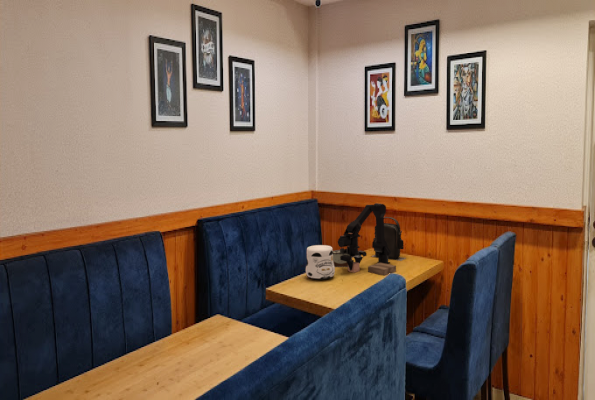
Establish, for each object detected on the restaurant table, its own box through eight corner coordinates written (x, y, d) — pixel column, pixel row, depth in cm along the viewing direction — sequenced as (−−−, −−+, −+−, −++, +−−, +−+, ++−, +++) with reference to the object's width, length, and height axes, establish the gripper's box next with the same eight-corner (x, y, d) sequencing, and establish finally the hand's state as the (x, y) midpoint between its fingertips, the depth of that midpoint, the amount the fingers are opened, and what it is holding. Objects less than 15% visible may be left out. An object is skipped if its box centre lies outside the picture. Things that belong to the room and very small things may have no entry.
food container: (350, 264, 304) (350, 249, 302) (351, 267, 298) (350, 251, 296) (331, 264, 305) (331, 249, 304) (331, 267, 299) (331, 252, 298)
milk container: (326, 283, 265) (325, 252, 263) (300, 279, 275) (299, 249, 273) (340, 275, 280) (339, 246, 278) (315, 272, 289) (314, 243, 287)
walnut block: (380, 268, 293) (380, 262, 293) (395, 272, 284) (395, 265, 284) (368, 272, 285) (367, 266, 285) (383, 276, 276) (383, 269, 276)
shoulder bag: (406, 258, 315) (406, 217, 312) (400, 261, 308) (400, 219, 305) (377, 254, 329) (376, 215, 326) (370, 256, 322) (370, 216, 319)
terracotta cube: (353, 269, 292) (353, 261, 291) (359, 270, 288) (359, 263, 288) (348, 271, 289) (347, 263, 288) (354, 272, 285) (354, 264, 284)
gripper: (353, 240, 298) (353, 264, 300) (333, 245, 286) (333, 270, 288) (366, 242, 290) (367, 267, 292) (346, 248, 278) (347, 273, 280)
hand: (353, 269), depth 288 cm, fingers closed on terracotta cube, 5 cm apart
